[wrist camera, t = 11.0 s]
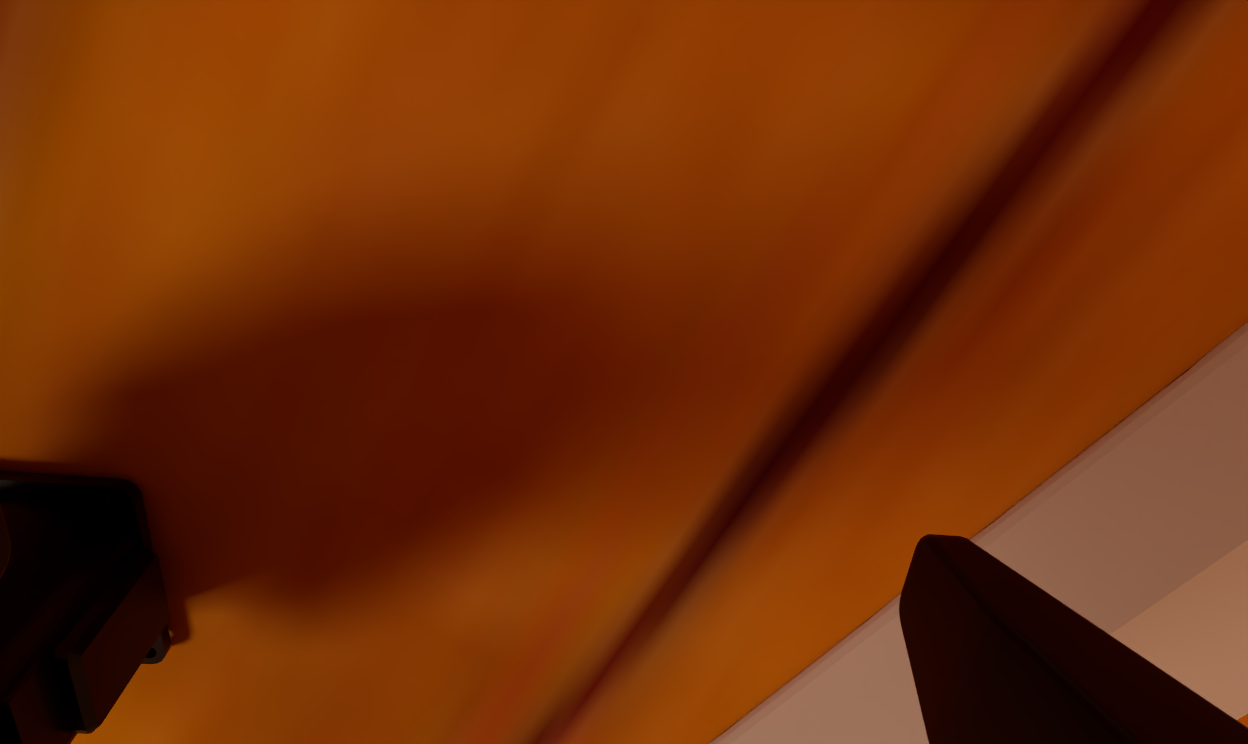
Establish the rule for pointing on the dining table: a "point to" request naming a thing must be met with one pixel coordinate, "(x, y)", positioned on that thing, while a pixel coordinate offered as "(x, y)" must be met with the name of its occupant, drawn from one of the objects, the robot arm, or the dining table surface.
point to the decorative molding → (1086, 566)
